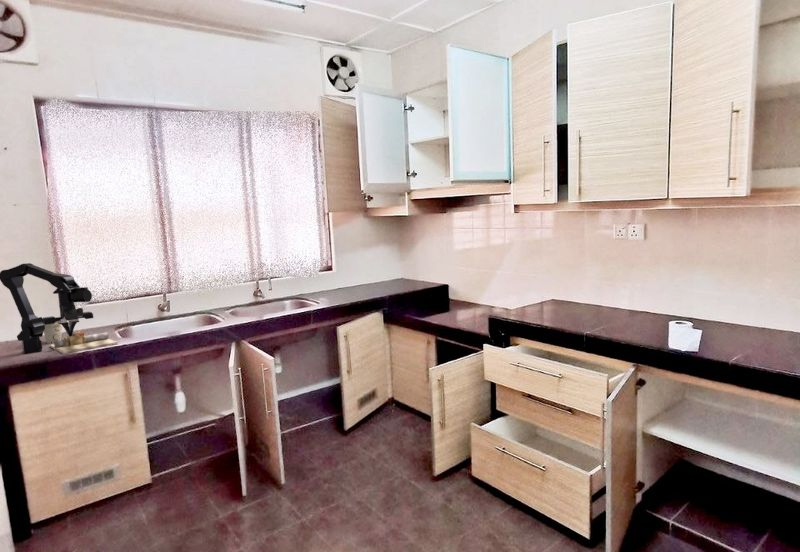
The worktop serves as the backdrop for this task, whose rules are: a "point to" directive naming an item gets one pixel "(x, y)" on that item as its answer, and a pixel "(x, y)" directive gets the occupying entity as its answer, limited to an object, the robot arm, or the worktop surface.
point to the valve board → (84, 346)
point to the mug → (53, 332)
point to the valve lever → (78, 333)
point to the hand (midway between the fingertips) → (70, 336)
